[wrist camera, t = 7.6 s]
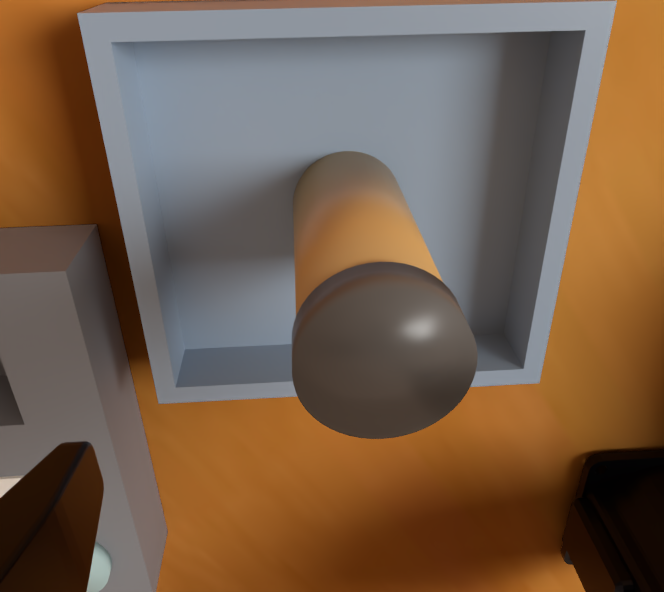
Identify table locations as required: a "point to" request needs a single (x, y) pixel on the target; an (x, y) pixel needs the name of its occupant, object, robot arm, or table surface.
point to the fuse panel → (76, 392)
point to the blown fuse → (371, 306)
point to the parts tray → (330, 137)
